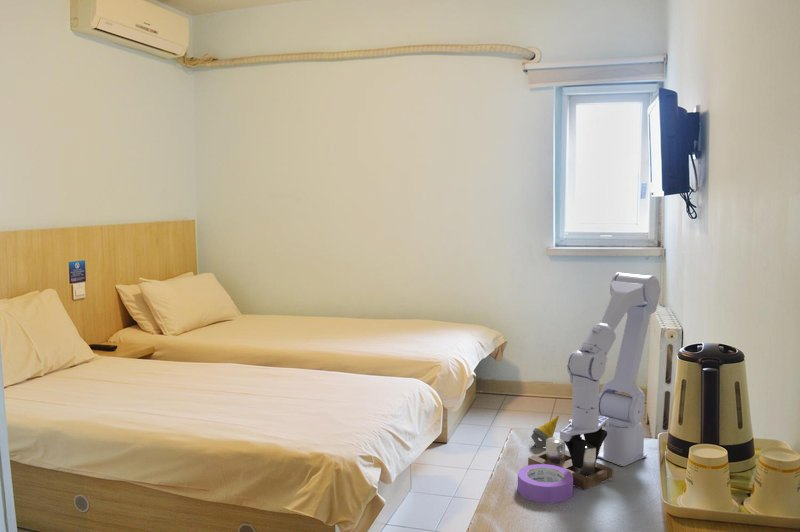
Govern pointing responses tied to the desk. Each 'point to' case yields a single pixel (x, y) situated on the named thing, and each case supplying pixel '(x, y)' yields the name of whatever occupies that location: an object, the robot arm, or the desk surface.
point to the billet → (588, 461)
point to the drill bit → (544, 432)
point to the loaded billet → (555, 450)
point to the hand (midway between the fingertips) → (584, 463)
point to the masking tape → (545, 483)
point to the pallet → (578, 479)
